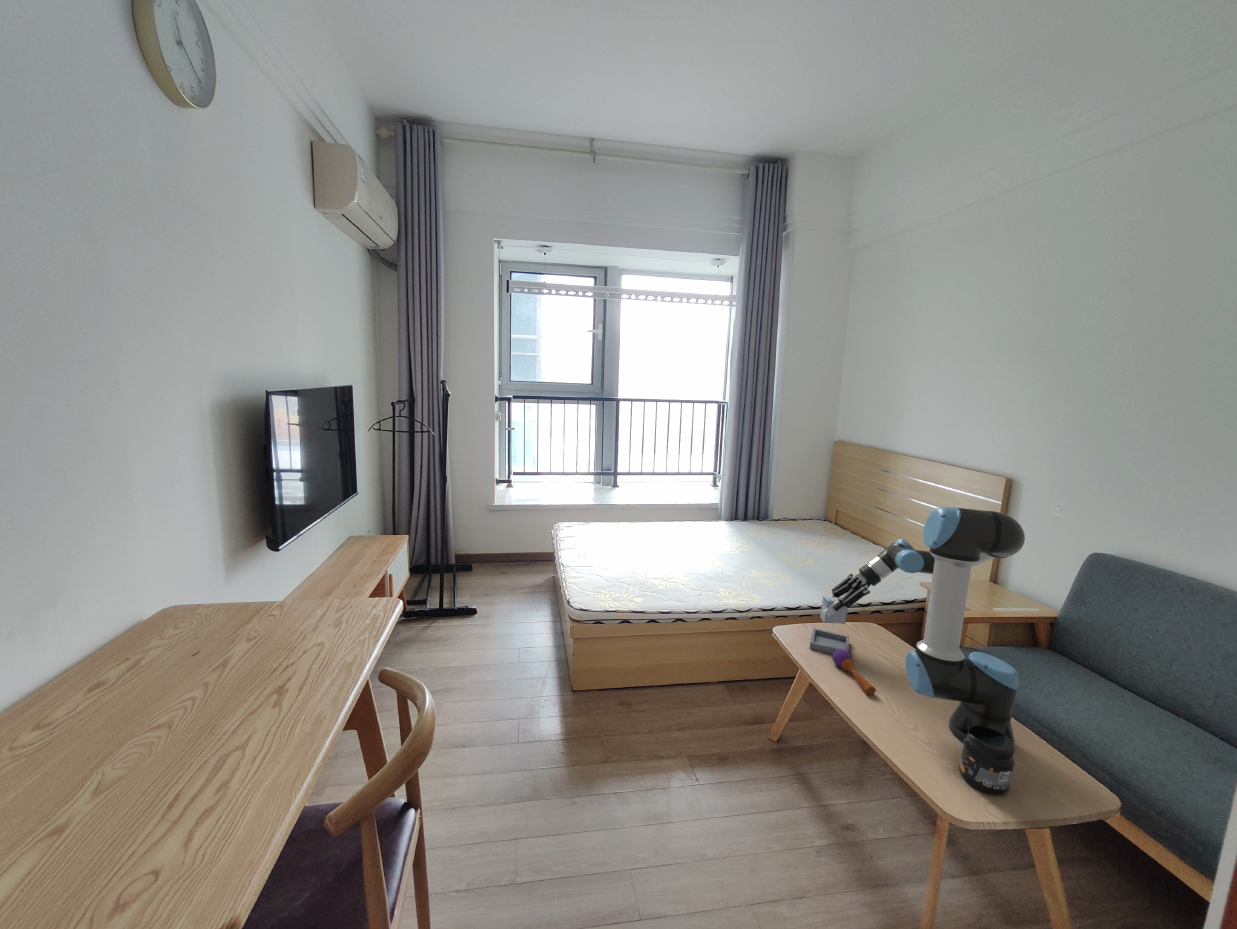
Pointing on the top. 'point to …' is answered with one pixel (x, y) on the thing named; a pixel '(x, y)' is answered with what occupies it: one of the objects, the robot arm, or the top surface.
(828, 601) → the medicine box
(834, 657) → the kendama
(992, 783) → the supplement container
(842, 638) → the tray
